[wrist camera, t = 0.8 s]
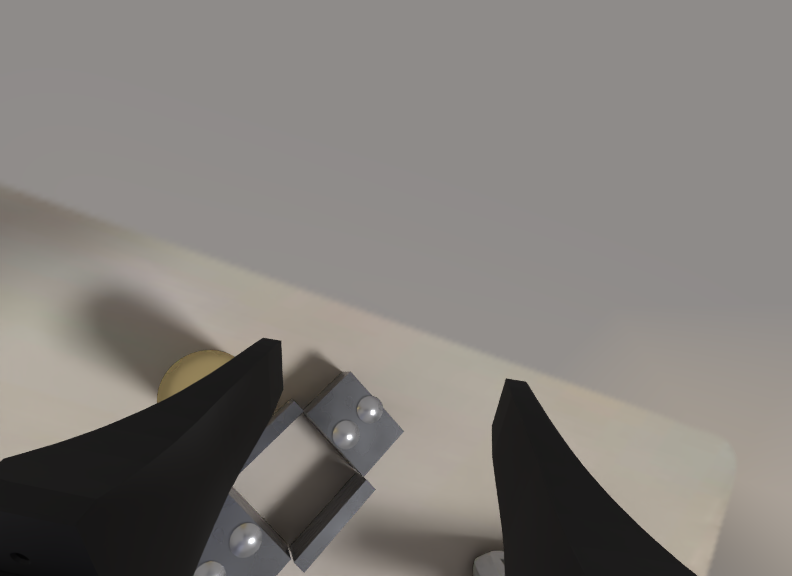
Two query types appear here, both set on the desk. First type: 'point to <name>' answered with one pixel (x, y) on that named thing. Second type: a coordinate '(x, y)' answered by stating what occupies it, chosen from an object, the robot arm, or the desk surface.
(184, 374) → the link pin
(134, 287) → the desk surface
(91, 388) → the desk surface
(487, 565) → the digital clock
